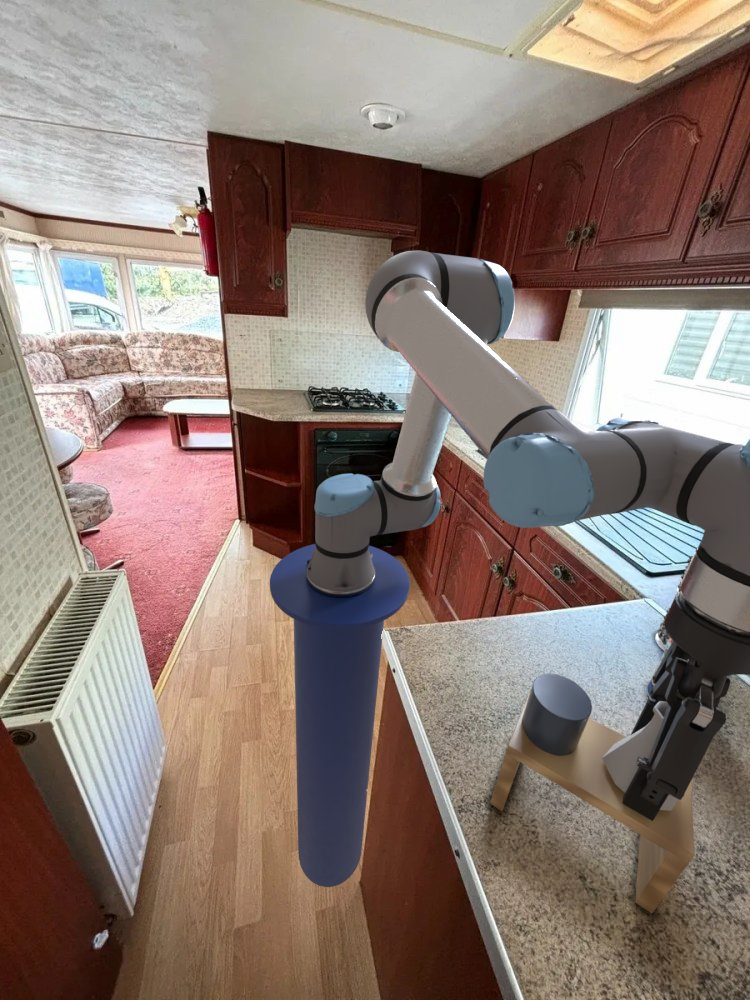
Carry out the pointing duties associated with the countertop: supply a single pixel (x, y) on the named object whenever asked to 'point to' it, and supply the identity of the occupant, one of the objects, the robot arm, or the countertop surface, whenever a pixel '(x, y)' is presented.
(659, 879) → the spice shelf
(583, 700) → the spice tin
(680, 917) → the countertop surface
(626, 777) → the flask
